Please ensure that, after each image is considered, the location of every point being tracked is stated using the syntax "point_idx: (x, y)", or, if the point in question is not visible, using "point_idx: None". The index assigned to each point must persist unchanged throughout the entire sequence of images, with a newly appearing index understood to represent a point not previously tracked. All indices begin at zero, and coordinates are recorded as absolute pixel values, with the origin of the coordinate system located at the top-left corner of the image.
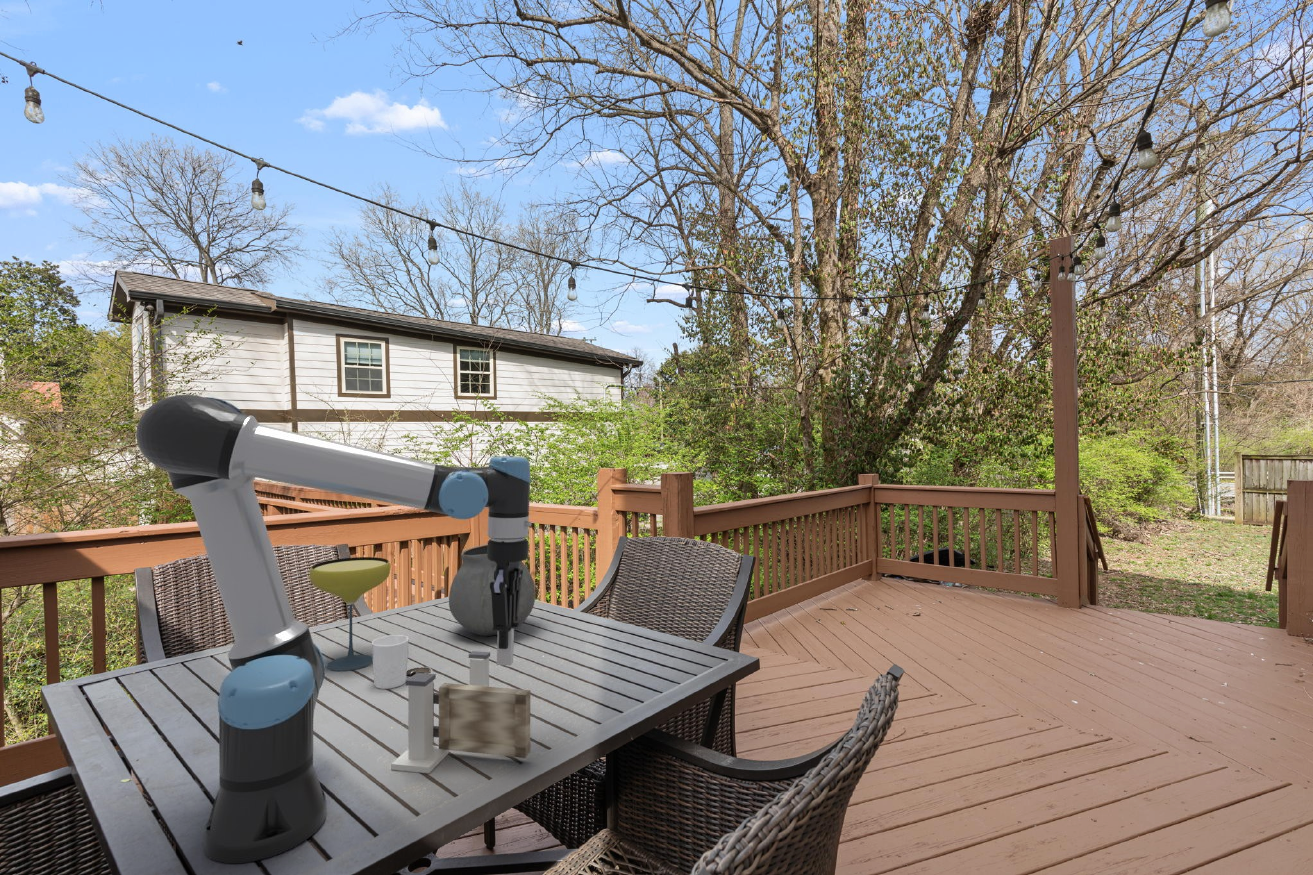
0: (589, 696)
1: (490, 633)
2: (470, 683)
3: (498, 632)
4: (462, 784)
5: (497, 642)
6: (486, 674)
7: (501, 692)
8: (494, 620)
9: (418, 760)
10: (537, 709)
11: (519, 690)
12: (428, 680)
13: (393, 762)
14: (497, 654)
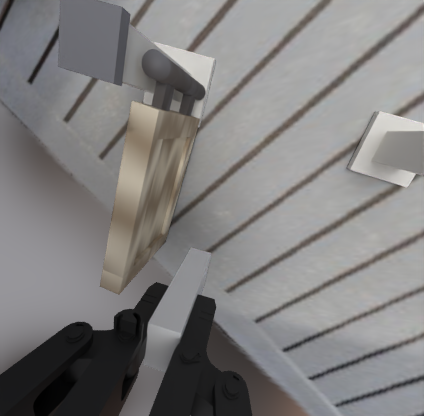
0: (354, 326)
1: None
2: (408, 133)
3: (153, 317)
4: None
5: (169, 287)
6: (421, 174)
7: (108, 246)
8: (19, 367)
9: None
10: (326, 251)
11: (118, 277)
12: (78, 72)
13: (157, 43)
14: (182, 264)
